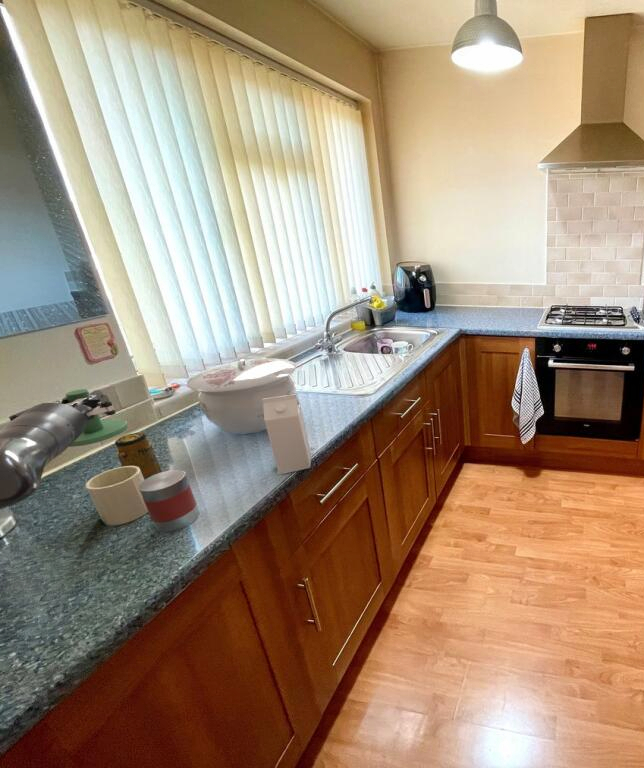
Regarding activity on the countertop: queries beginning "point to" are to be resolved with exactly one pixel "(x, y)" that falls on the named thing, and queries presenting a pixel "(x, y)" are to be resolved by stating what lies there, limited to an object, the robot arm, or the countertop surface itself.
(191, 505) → the tin
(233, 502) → the countertop surface
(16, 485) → the robot arm
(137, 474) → the cup
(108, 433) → the lid
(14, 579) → the countertop surface
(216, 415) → the chamber pot
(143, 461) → the condiment
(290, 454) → the milk carton
